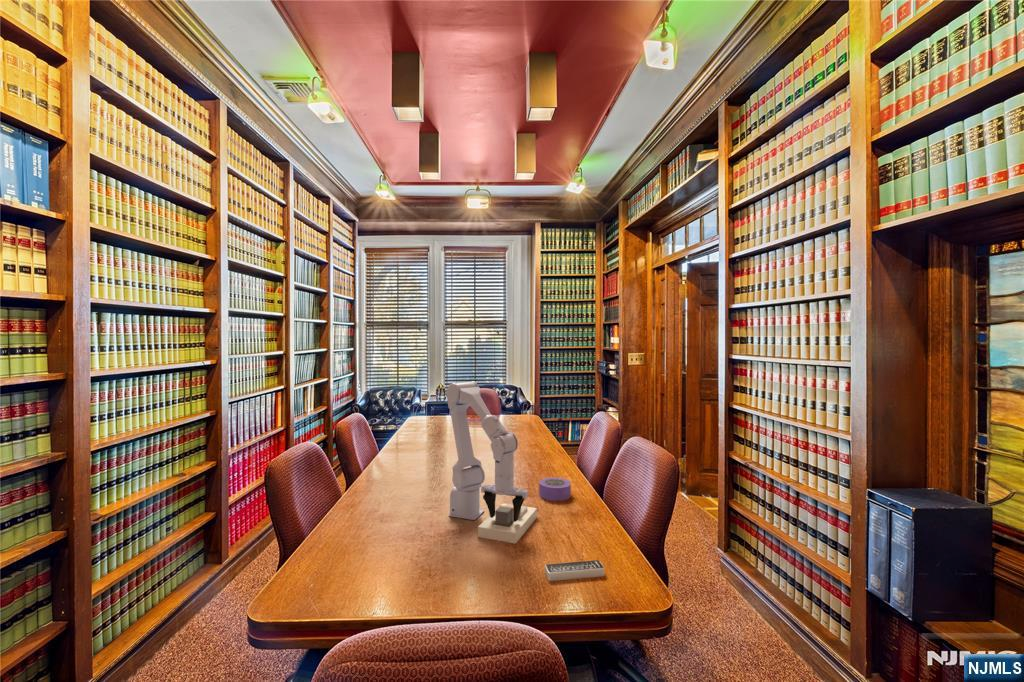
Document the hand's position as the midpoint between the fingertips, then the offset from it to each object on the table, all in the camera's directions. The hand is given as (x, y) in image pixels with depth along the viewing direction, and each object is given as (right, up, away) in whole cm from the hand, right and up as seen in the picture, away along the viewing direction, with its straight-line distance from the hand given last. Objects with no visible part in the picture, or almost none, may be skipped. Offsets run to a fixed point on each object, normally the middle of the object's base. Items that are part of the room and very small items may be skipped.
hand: (504, 518), depth 137 cm
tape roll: (+19, -4, +32) cm, 37 cm away
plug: (0, -4, 0) cm, 4 cm away
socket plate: (+1, -4, +4) cm, 6 cm away
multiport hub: (+18, -5, -24) cm, 30 cm away
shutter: (+3, -1, +8) cm, 8 cm away
